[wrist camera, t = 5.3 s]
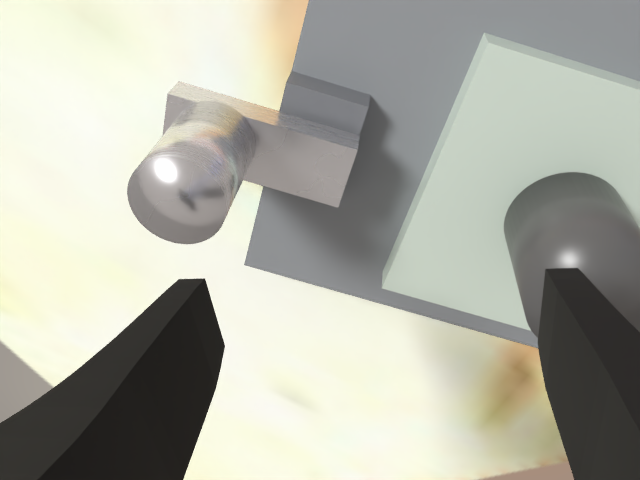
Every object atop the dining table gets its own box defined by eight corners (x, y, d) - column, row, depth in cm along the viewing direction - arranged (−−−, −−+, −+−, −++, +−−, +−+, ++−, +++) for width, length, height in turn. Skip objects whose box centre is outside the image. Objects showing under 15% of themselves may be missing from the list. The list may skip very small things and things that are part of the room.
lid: (775, 124, 17) (893, 214, 13) (609, 336, 22) (656, 449, 18) (484, 32, 17) (510, 96, 13) (382, 271, 22) (378, 372, 18)
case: (901, 11, 17) (971, 36, 14) (624, 349, 24) (645, 395, 22) (354, -169, 16) (347, -170, 14) (252, 242, 24) (238, 281, 22)
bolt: (361, 129, 17) (350, 208, 14) (339, 196, 19) (323, 285, 15) (179, 74, 17) (118, 141, 13) (170, 147, 18) (112, 225, 15)
